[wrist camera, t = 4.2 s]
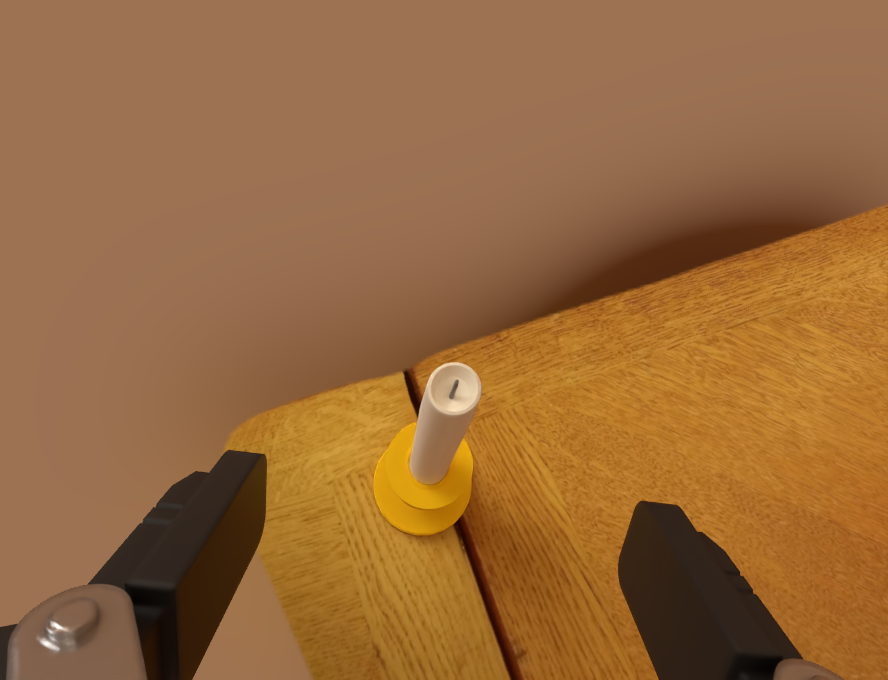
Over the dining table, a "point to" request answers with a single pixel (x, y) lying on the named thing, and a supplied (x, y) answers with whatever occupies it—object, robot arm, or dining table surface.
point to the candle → (431, 457)
